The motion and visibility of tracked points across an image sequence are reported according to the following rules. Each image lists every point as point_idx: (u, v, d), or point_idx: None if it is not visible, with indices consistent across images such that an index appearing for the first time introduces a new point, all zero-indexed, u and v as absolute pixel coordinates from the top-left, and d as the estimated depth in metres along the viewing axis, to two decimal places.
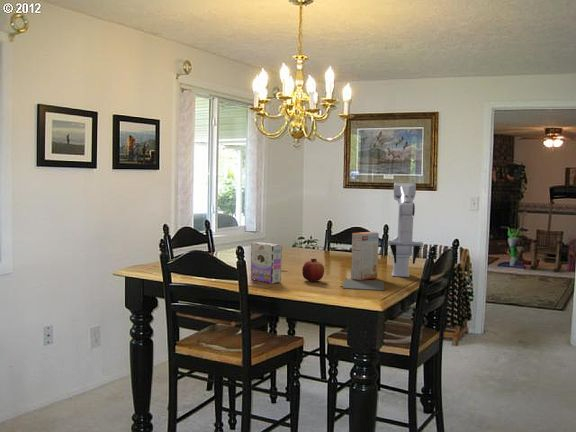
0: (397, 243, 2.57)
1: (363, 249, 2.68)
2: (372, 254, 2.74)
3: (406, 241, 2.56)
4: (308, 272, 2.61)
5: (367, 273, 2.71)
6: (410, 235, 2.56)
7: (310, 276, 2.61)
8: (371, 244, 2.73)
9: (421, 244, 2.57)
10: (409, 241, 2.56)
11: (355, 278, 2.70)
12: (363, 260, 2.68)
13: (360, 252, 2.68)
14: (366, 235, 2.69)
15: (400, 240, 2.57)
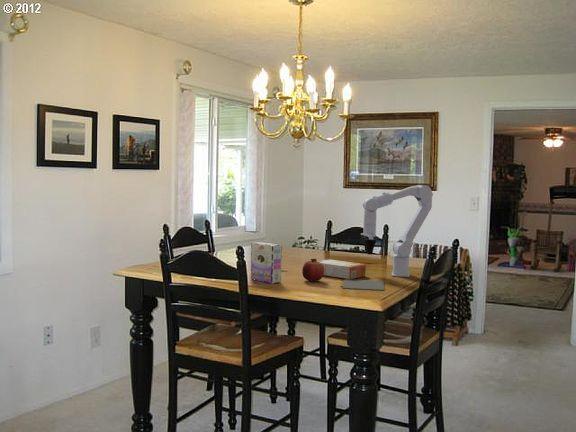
0: None
1: (326, 263, 2.81)
2: (340, 262, 2.85)
3: (363, 232, 2.84)
4: (308, 272, 2.61)
5: (350, 265, 2.77)
6: (365, 227, 2.82)
7: (310, 276, 2.61)
8: (330, 261, 2.87)
9: (369, 236, 2.78)
10: (364, 232, 2.83)
11: (348, 273, 2.72)
12: (335, 264, 2.78)
13: (327, 265, 2.79)
14: None
15: None
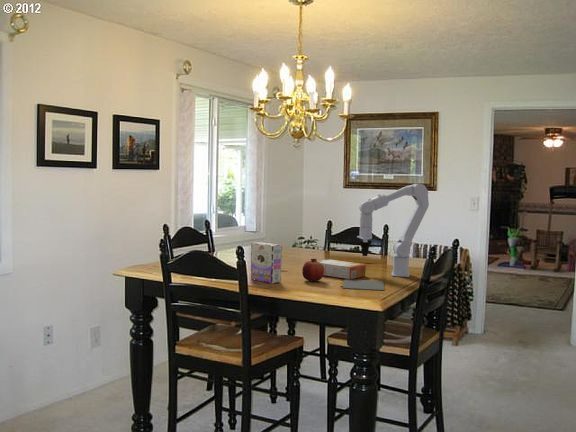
0: None
1: (326, 263, 2.81)
2: (340, 262, 2.85)
3: None
4: (308, 272, 2.61)
5: (350, 265, 2.77)
6: (361, 230, 2.84)
7: (310, 276, 2.61)
8: (330, 261, 2.87)
9: (363, 239, 2.79)
10: (360, 235, 2.85)
11: (348, 273, 2.72)
12: (335, 264, 2.78)
13: (327, 265, 2.79)
14: None
15: None
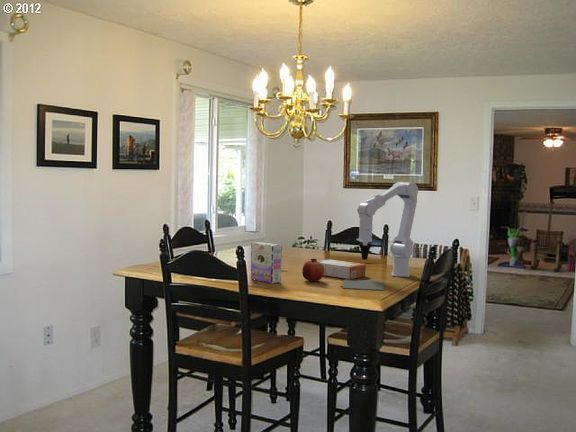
0: None
1: (326, 263, 2.81)
2: (340, 262, 2.85)
3: (359, 238, 2.74)
4: (308, 272, 2.61)
5: (350, 265, 2.77)
6: (360, 232, 2.72)
7: (310, 276, 2.61)
8: (330, 261, 2.87)
9: None
10: (360, 238, 2.73)
11: (348, 273, 2.72)
12: (335, 264, 2.78)
13: (327, 265, 2.79)
14: None
15: None
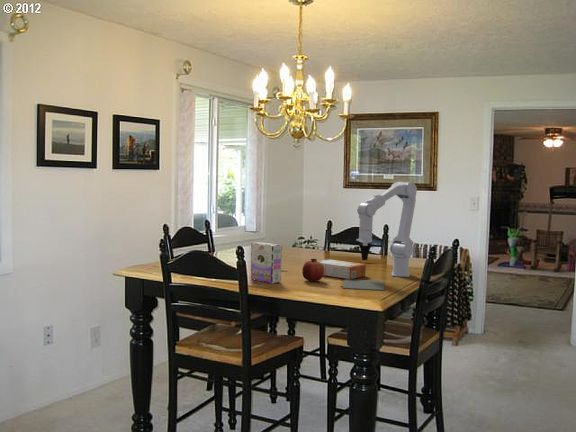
0: None
1: (326, 263, 2.81)
2: (340, 262, 2.85)
3: (359, 238, 2.73)
4: (308, 272, 2.61)
5: (350, 265, 2.77)
6: (360, 233, 2.71)
7: (310, 276, 2.61)
8: (330, 261, 2.87)
9: (362, 242, 2.66)
10: (360, 238, 2.71)
11: (348, 273, 2.72)
12: (335, 264, 2.78)
13: (327, 265, 2.79)
14: None
15: None
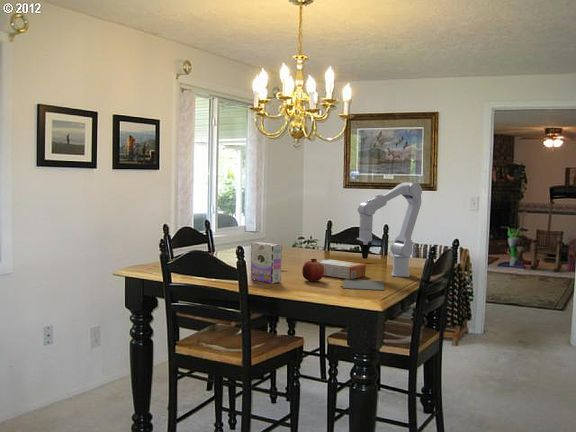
0: None
1: (326, 263, 2.81)
2: (340, 262, 2.85)
3: (359, 237, 2.78)
4: (308, 272, 2.61)
5: (350, 265, 2.77)
6: (361, 232, 2.76)
7: (310, 276, 2.61)
8: (330, 261, 2.87)
9: (363, 241, 2.71)
10: (360, 237, 2.77)
11: (348, 273, 2.72)
12: (335, 264, 2.78)
13: (327, 265, 2.79)
14: None
15: None
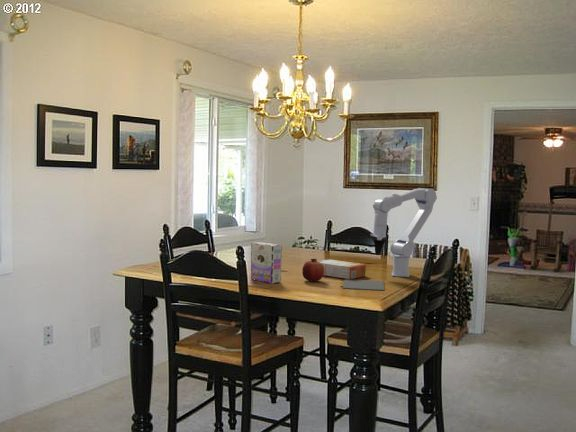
0: None
1: (326, 263, 2.81)
2: (340, 262, 2.85)
3: (373, 233, 2.80)
4: (308, 272, 2.61)
5: (350, 265, 2.77)
6: (375, 228, 2.78)
7: (310, 276, 2.61)
8: (330, 261, 2.87)
9: (377, 237, 2.74)
10: (374, 233, 2.79)
11: (348, 273, 2.72)
12: (335, 264, 2.78)
13: (327, 265, 2.79)
14: None
15: None
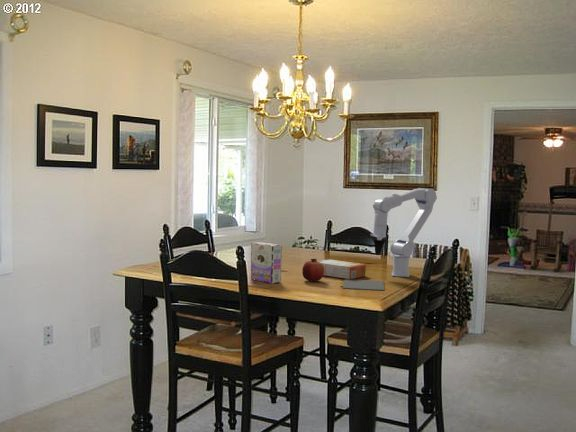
0: None
1: (326, 263, 2.81)
2: (340, 262, 2.85)
3: (373, 233, 2.80)
4: (308, 272, 2.61)
5: (350, 265, 2.77)
6: (375, 228, 2.78)
7: (310, 276, 2.61)
8: (330, 261, 2.87)
9: (377, 237, 2.74)
10: (374, 233, 2.79)
11: (348, 273, 2.72)
12: (335, 264, 2.78)
13: (327, 265, 2.79)
14: None
15: None
